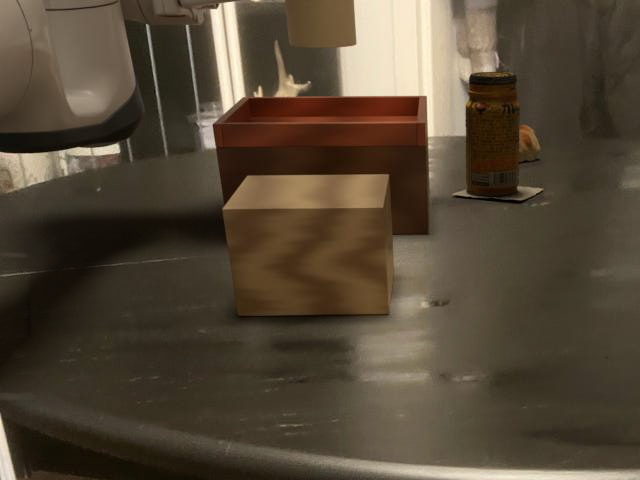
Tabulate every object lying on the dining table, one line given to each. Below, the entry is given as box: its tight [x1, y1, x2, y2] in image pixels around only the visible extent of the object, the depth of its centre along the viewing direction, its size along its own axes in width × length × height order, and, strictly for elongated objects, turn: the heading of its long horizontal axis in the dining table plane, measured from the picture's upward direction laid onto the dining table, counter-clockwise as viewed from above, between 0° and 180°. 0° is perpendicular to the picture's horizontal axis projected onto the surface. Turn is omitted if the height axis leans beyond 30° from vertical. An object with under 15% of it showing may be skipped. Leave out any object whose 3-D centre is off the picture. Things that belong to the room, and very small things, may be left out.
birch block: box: [221, 174, 395, 317], centre depth 80 cm, size 12×12×8 cm
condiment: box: [452, 71, 544, 201], centre depth 109 cm, size 7×8×12 cm
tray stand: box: [212, 95, 431, 235], centre depth 102 cm, size 20×18×10 cm
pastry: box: [519, 124, 541, 163], centre depth 127 cm, size 9×7×4 cm
